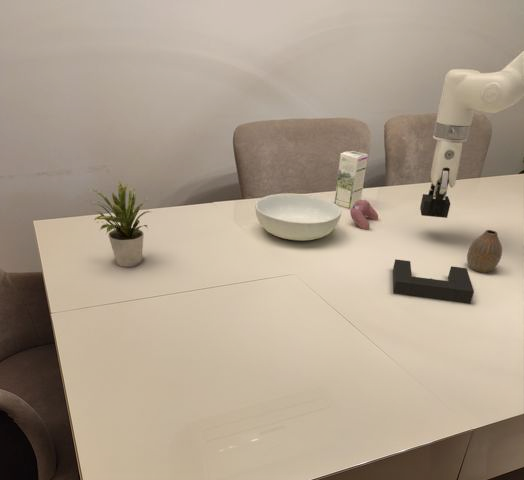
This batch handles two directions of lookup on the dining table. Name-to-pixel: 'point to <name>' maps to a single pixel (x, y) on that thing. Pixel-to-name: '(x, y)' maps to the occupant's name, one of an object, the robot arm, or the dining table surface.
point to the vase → (485, 252)
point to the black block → (426, 204)
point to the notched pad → (432, 284)
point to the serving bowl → (297, 216)
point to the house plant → (124, 228)
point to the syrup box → (350, 178)
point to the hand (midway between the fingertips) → (433, 210)
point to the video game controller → (363, 213)
